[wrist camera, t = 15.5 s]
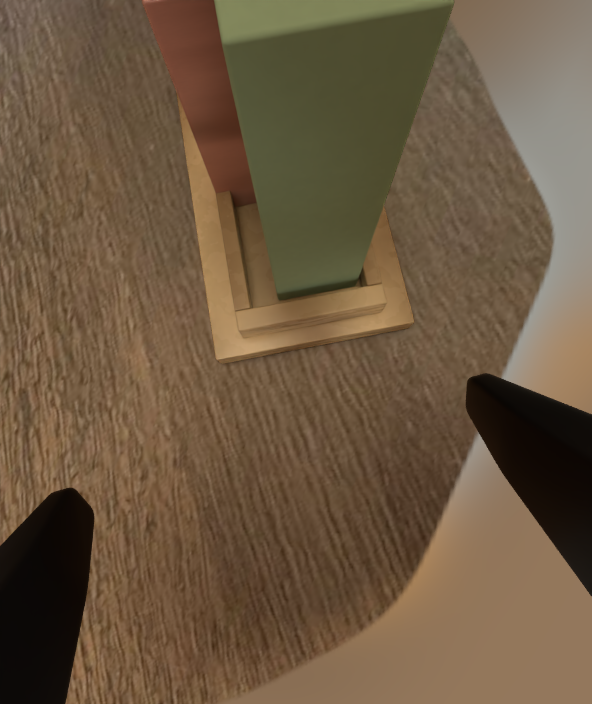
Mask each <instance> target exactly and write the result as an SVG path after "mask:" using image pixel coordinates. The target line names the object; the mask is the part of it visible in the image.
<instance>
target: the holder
mask: <svg viewBox="0 0 592 704" xmlns="http://www.w3.org/2000/svg"><path fill="white" fill-rule="evenodd" d="M142 4H143V6H144V9H145V12H146V14H147V17H148V19H149V22H150V24H151V27H152V30H153V32H154V35H155V37H156V40H157V43H158V45H159V48H160V50H161V53H162V55H163V58H164V61H165V63H166V66H167V68H168V71H169V74H170V76H171V79H172V81H173V84H174V86H175V89H176V94H177V100H178V107H179V114H180V121H181V127H182V134H183V141H184V148H185V154H186V161H187V168H188V175H189V181H190V188H191V195H192V202H193V208H194V215H195V222H196V228H197V235H198V242H199V249H200V255H201V262H202V269H203V276H204V282H205V289H206V296H207V303H208V309H209V316H210V323H211V330H212V336H213V343H214V350H215V357H216V360H217V361H218V362H220V363H221V364H224V363H229V362H235V361H240V360H245V359H250V358H255V357H261V356H266V355H271V354H276V353H282V352H287V351H292V350H297V349H303V348H308V347H313V346H318V345H324V344H329V343H334V342H339V341H345V340H350V339H355V338H360V337H366V336H371V335H376V334H381V333H387V332H392V331H397V330H402V329H408V328H409V327H410V326H411V325H412V324H413V323H414V318H413V314H412V310H411V307H410V303H409V299H408V295H407V291H406V287H405V284H404V280H403V276H402V272H401V268H400V265H399V261H398V257H397V253H396V249H395V246H394V242H393V238H392V234H391V230H390V227H389V223H388V219H387V215H386V211H385V208H384V206H383V209H382V212H381V215H380V218H379V221H378V224H377V226H376V229H375V232H374V235H373V238H372V241H371V244H370V247H369V249H368V252H367V255H366V258H365V261H364V264H363V267H362V269H361V272H360V275H359V278H358V281H357V284H356V286H355V287H349V288H344V289H338V290H333V291H328V292H322V293H317V294H312V295H306V296H301V297H295V298H290V299H285V300H278V297H277V292H276V287H275V283H274V278H273V274H272V269H271V265H270V260H269V256H268V251H267V247H266V242H265V238H264V233H263V229H262V224H261V219H260V215H259V210H258V206H257V201H256V197H255V192H254V188H253V183H252V179H251V174H250V170H249V165H248V161H247V156H246V151H245V147H244V142H243V138H242V133H241V129H240V124H239V120H238V115H237V111H236V106H235V102H234V97H233V93H232V88H231V83H230V79H229V74H228V70H227V65H226V61H225V56H224V52H223V47H222V43H221V37H220V31H219V26H218V20H217V15H216V9H215V4H214V0H142Z"/></svg>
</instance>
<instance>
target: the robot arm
mask: <svg viewBox="0 0 592 704" xmlns="http://www.w3.org/2000/svg"><path fill="white" fill-rule="evenodd" d="M466 409H467V412H468V414H469V416H470V418H471V420H472V422H473V423H474V425H475V427H476V428H477V430H478V432H479V434H480V435H481V437H482V439H483V440H484V442H485V444H486V446H487V448H488V449H489V451H490V453H491V455H492V456H493V458H494V460H495V461H496V463H497V465H498V467H499V468H500V470H501V471H502V473H503V475H504V476H505V477H506V479H507V480H508V482H509V483H510V484H511V486H512V487H513V489H514V490H515V492H516V493H517V494H518V496H519V497H520V498H521V500H522V501H523V502H524V504H525V505H526V507H527V508H528V509H529V511H530V512H531V513H532V515H533V516H534V518H535V519H536V520H537V522H538V523H539V525H540V526H541V527H542V528H543V530H544V531H545V533H546V534H547V536H548V537H549V538H550V540H551V541H552V542H553V544H554V545H555V547H556V548H557V549H558V551H559V552H560V553H561V555H562V556H563V558H564V559H565V560H566V562H567V563H568V564H569V566H570V567H571V569H572V570H573V571H574V573H575V574H576V575H577V577H578V578H579V580H580V581H581V582H582V584H583V585H584V587H585V588H586V589H587V591H588V592H589V594H590V595H591V596H592V414H589V413H587V412H584V411H582V410H579V409H577V408H574V407H572V406H569V405H567V404H564V403H562V402H559V401H556V400H554V399H551V398H549V397H546V396H544V395H541V394H539V393H536V392H533V391H531V390H529V389H526V388H524V387H521V386H518V385H516V384H514V383H511V382H509V381H506V380H504V379H501V378H499V377H496V376H494V375H491V374H487V373H485V374H481V375H477V376H473V377H471V378H469V379H468V381H467V392H466ZM93 529H94V512H93V510H92V508H91V506H90V505H89V504H88V503H87V502H86V501H85V499H84V498H83V497H82V496H81V495H80V494H79V493H78V491H77V490H76V489H73V488H66V489H63V490H59V491H55V492H53V493H51V494H50V495H49V496H48V497H47V498H46V499H45V500H44V501H43V502H42V503H41V504H40V505H39V506H38V507H37V508H36V509H35V510H34V511H33V512H32V513H31V514H30V516H29V517H28V518H27V519H26V520H25V521H24V522H23V523H22V524H21V525H20V526H19V527H18V528H17V529H16V530H15V531H14V532H13V533H12V534H11V535H10V536H9V537H8V538H7V540H6V541H5V542H4V543H3V544H2V545H1V546H0V704H65V703H66V698H67V693H68V688H69V683H70V677H71V672H72V667H73V662H74V657H75V652H76V647H77V642H78V637H79V632H80V627H81V622H82V616H83V611H84V606H85V601H86V595H87V589H88V581H89V572H90V561H91V550H92V540H93Z"/></svg>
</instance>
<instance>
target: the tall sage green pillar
mask: <svg viewBox="0 0 592 704" xmlns="http://www.w3.org/2000/svg"><path fill="white" fill-rule="evenodd" d="M214 4H215V9H216V15H217V20H218V26H219V31H220V37H221V43H222V47H223V52H224V56H225V61H226V65H227V70H228V74H229V79H230V83H231V88H232V93H233V97H234V102H235V106H236V111H237V115H238V120H239V124H240V129H241V133H242V138H243V142H244V147H245V151H246V156H247V161H248V165H249V170H250V174H251V179H252V183H253V188H254V192H255V197H256V201H257V206H258V210H259V215H260V219H261V224H262V229H263V233H264V238H265V242H266V247H267V251H268V256H269V260H270V265H271V269H272V274H273V278H274V283H275V287H276V292H277V297H278V300H285V299H290V298H295V297H301V296H306V295H312V294H317V293H322V292H328V291H333V290H338V289H344V288H349V287H355V286H356V284H357V281H358V278H359V275H360V272H361V269H362V267H363V264H364V261H365V258H366V255H367V252H368V249H369V247H370V244H371V241H372V238H373V235H374V232H375V229H376V226H377V224H378V221H379V218H380V215H381V212H382V209H383V206H384V204H385V201H386V198H387V195H388V192H389V189H390V186H391V183H392V181H393V178H394V175H395V172H396V169H397V166H398V163H399V160H400V158H401V155H402V152H403V149H404V146H405V143H406V140H407V138H408V135H409V132H410V129H411V126H412V123H413V120H414V117H415V115H416V112H417V109H418V106H419V103H420V100H421V97H422V95H423V92H424V89H425V86H426V83H427V80H428V77H429V74H430V72H431V69H432V66H433V63H434V60H435V57H436V54H437V52H438V49H439V46H440V43H441V40H442V37H443V34H444V31H445V29H446V26H447V23H448V20H449V17H450V14H451V11H452V8H453V5H454V0H214Z"/></svg>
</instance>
